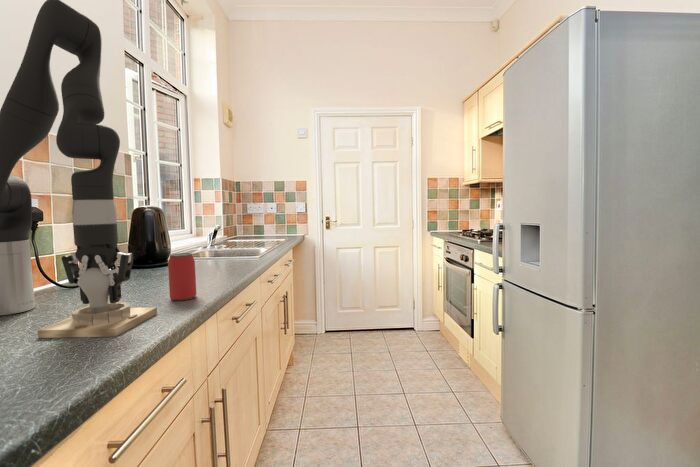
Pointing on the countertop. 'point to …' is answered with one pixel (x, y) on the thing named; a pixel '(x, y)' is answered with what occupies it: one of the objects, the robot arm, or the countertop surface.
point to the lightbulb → (95, 289)
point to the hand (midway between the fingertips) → (101, 302)
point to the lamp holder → (98, 322)
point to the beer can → (182, 276)
